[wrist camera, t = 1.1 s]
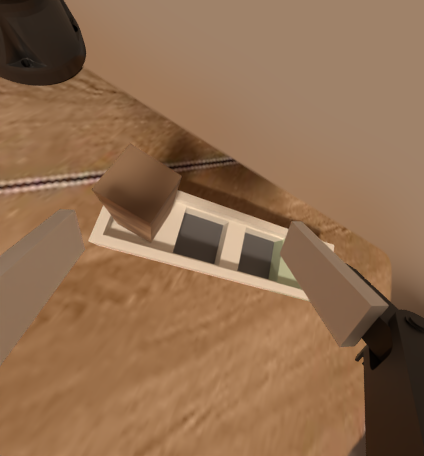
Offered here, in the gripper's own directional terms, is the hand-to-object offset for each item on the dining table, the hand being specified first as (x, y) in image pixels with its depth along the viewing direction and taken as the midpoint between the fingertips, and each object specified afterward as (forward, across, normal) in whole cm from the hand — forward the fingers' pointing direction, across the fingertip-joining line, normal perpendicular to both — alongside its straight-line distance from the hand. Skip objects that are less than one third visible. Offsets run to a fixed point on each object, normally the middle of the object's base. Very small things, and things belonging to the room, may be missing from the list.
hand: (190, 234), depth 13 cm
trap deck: (+16, +6, -12) cm, 21 cm away
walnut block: (+14, -6, -7) cm, 17 cm away
